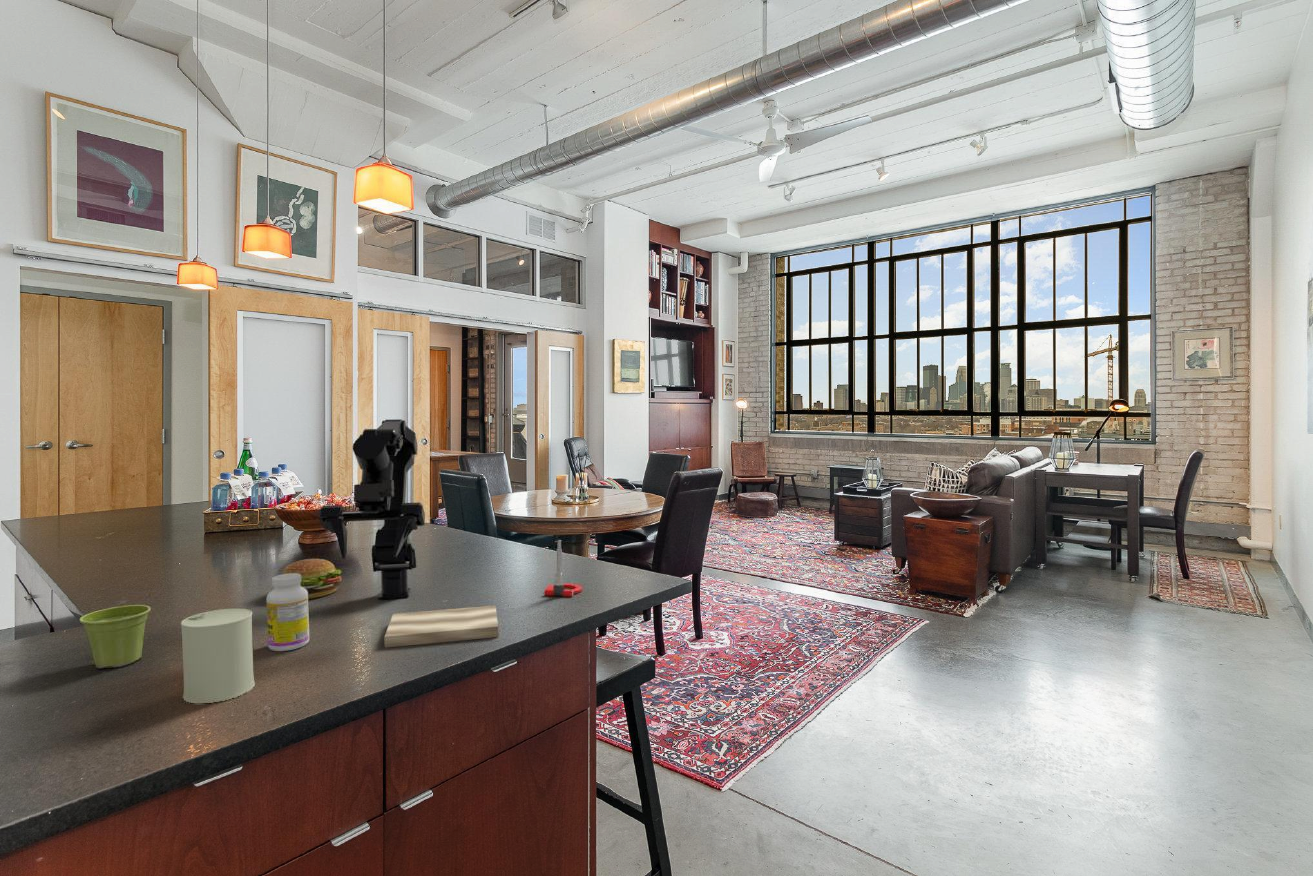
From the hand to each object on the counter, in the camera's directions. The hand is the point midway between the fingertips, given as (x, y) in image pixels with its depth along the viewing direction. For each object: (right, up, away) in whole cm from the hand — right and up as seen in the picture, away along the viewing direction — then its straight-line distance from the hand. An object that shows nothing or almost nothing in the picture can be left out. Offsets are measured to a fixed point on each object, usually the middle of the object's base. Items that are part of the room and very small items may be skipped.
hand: (369, 557), depth 127 cm
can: (-12, -16, -25) cm, 32 cm away
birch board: (+13, -15, +3) cm, 20 cm away
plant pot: (-37, -16, -13) cm, 43 cm away
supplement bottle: (-13, -15, -5) cm, 21 cm away
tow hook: (+33, -14, +30) cm, 47 cm away
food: (-28, -14, +30) cm, 43 cm away
